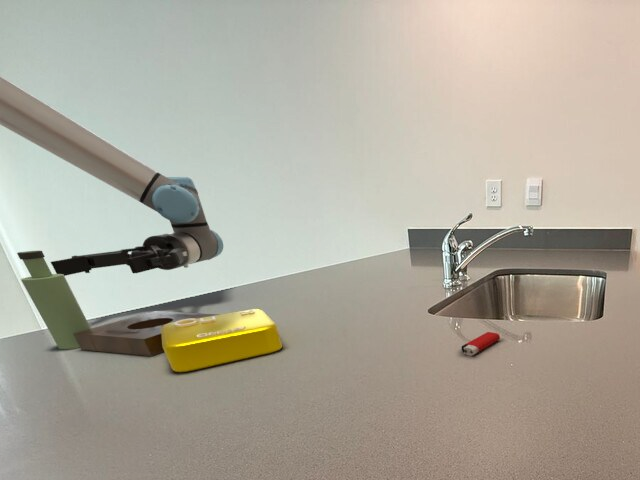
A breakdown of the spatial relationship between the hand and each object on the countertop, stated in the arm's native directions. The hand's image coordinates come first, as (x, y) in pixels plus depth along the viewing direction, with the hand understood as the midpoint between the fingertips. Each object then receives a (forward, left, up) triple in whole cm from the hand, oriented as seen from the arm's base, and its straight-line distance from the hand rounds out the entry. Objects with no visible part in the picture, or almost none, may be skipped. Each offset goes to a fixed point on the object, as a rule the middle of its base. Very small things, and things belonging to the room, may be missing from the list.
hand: (93, 267), depth 76 cm
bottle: (+3, -9, -12) cm, 15 cm away
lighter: (+75, +3, -12) cm, 76 cm away
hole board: (+15, -4, -12) cm, 19 cm away
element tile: (+33, -6, -12) cm, 36 cm away
